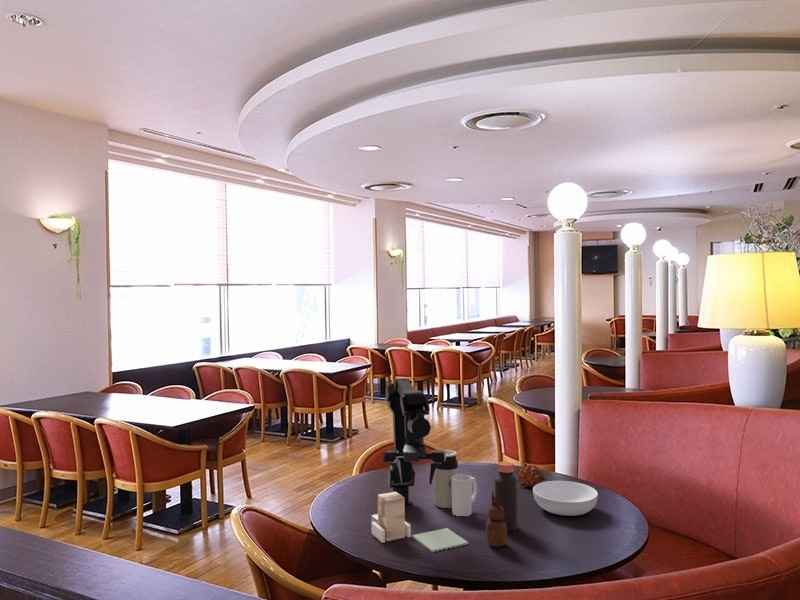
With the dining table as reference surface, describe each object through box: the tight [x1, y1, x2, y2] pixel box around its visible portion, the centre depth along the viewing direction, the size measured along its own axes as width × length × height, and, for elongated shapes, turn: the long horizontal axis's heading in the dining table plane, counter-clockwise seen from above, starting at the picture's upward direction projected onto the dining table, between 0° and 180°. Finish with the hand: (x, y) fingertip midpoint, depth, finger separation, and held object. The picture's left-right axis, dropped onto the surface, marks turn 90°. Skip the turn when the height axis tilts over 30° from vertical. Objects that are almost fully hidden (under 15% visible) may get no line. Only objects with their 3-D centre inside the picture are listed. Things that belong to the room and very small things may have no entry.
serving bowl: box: [532, 480, 599, 517], centre depth 206 cm, size 21×21×7 cm
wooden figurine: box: [485, 491, 508, 548], centre depth 180 cm, size 7×6×15 cm
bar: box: [370, 513, 378, 525], centre depth 194 cm, size 7×3×3 cm, turn 26°
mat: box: [411, 527, 469, 553], centre depth 183 cm, size 12×12×1 cm
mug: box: [451, 473, 478, 517], centre depth 206 cm, size 10×7×12 cm, turn 125°
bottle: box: [494, 460, 518, 533], centre depth 192 cm, size 7×7×20 cm
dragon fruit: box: [516, 464, 546, 489], centre depth 232 cm, size 8×8×12 cm
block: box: [377, 491, 406, 542], centre depth 187 cm, size 6×6×12 cm
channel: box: [371, 520, 412, 544], centre depth 187 cm, size 8×10×4 cm
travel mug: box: [434, 449, 459, 509], centre depth 213 cm, size 8×8×18 cm
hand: (415, 484), depth 191 cm, fingers open, 9 cm apart
